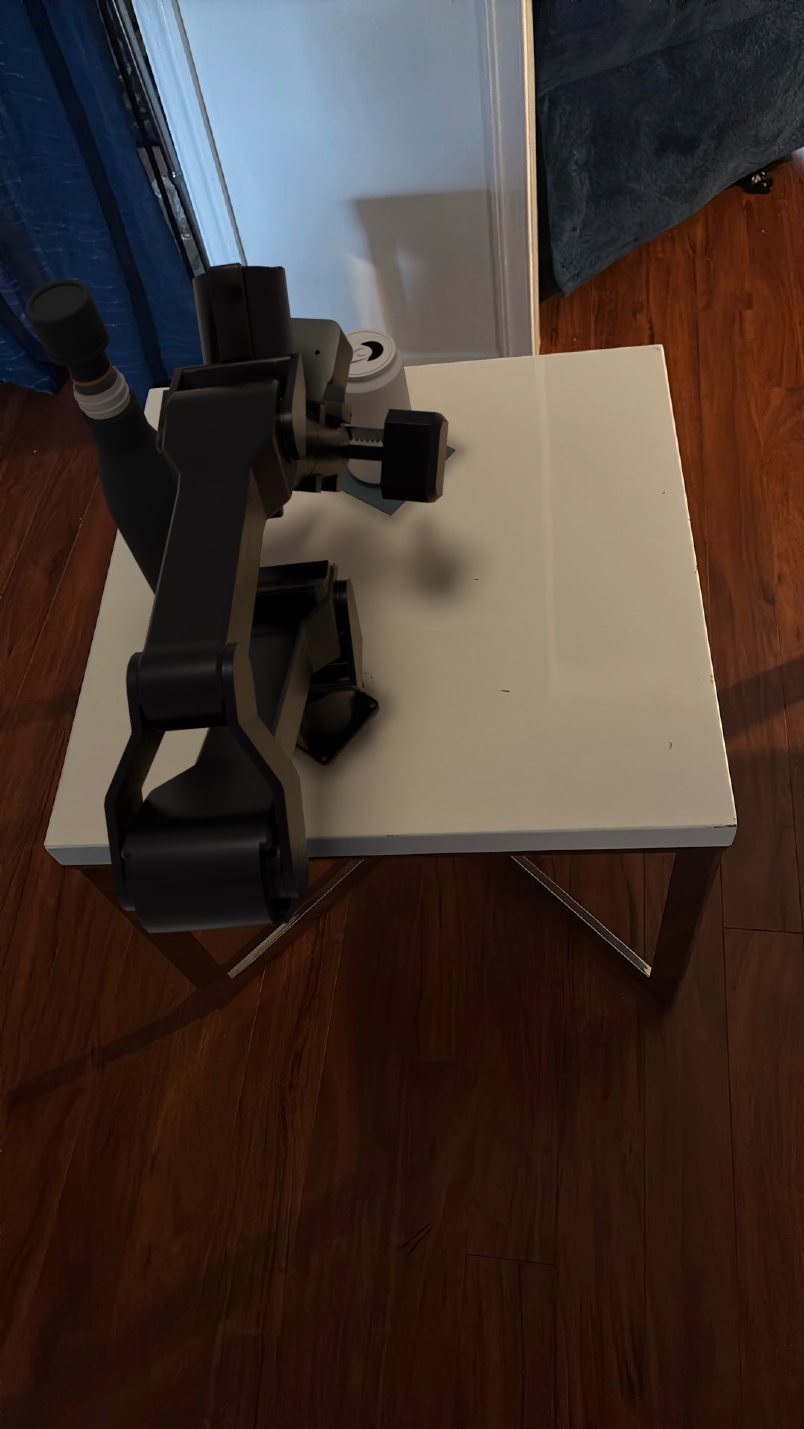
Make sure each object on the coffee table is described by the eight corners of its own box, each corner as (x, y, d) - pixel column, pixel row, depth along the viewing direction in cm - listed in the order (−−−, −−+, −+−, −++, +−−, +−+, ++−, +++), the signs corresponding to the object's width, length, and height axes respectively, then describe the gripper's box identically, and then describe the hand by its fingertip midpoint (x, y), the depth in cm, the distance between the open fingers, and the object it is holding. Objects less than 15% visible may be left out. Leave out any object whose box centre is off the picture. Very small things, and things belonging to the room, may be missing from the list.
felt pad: (390, 515, 88) (390, 514, 88) (313, 475, 92) (313, 474, 92) (455, 450, 91) (455, 449, 91) (377, 414, 95) (377, 413, 95)
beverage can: (428, 476, 90) (410, 364, 80) (357, 498, 90) (329, 388, 80) (409, 429, 93) (389, 315, 83) (340, 449, 93) (312, 338, 83)
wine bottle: (242, 647, 83) (95, 332, 58) (165, 648, 84) (-11, 339, 59) (255, 584, 86) (121, 260, 61) (181, 586, 87) (20, 268, 62)
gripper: (425, 322, 64) (477, 351, 79) (153, 310, 69) (250, 340, 83) (411, 505, 67) (464, 501, 81) (150, 482, 71) (244, 482, 86)
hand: (353, 452), depth 83 cm, fingers open, 9 cm apart
